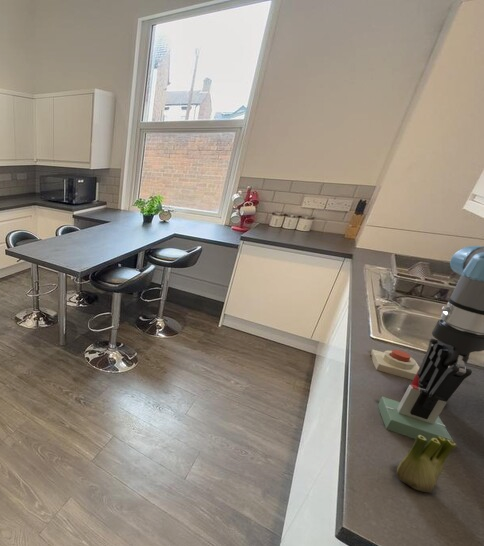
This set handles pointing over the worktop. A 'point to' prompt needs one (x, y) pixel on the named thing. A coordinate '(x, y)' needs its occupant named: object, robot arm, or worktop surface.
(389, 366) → the button box
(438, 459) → the fennel bulb
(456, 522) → the worktop surface
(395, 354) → the button
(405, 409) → the handle
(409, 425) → the plate
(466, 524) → the worktop surface
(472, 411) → the worktop surface
